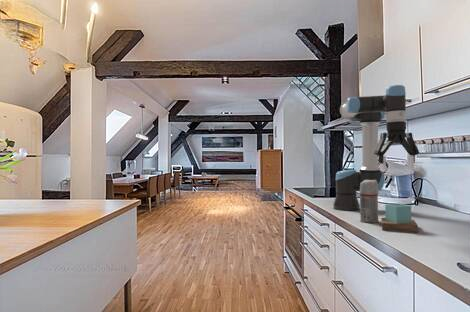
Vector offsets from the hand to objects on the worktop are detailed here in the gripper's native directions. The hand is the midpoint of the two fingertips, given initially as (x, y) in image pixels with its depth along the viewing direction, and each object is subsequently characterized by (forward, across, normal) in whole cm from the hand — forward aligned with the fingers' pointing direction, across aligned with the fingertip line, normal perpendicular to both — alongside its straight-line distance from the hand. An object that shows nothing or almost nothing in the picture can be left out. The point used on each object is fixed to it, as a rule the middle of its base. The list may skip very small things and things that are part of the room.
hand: (397, 170), depth 135 cm
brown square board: (+25, 0, 0) cm, 25 cm away
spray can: (+25, -3, +16) cm, 30 cm away
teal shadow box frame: (+22, 0, 0) cm, 22 cm away
